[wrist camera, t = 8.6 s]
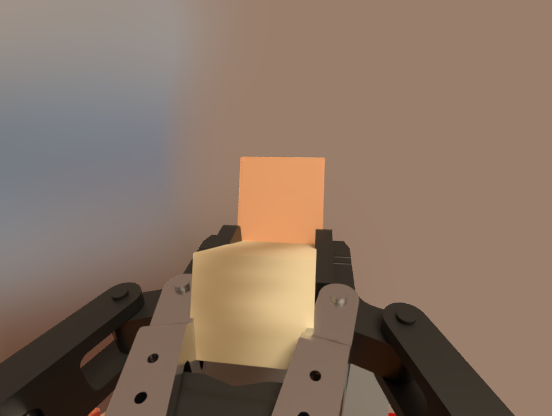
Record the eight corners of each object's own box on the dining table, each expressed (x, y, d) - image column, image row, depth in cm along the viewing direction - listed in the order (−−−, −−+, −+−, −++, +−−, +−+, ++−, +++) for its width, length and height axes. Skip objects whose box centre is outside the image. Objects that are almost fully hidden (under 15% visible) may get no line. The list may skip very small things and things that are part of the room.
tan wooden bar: (188, 359, 9) (193, 252, 9) (282, 258, 32) (284, 230, 33) (312, 372, 8) (315, 259, 8) (316, 260, 32) (317, 231, 32)
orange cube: (237, 240, 14) (240, 156, 15) (254, 236, 18) (256, 170, 19) (322, 244, 14) (325, 157, 14) (321, 239, 18) (323, 171, 18)
